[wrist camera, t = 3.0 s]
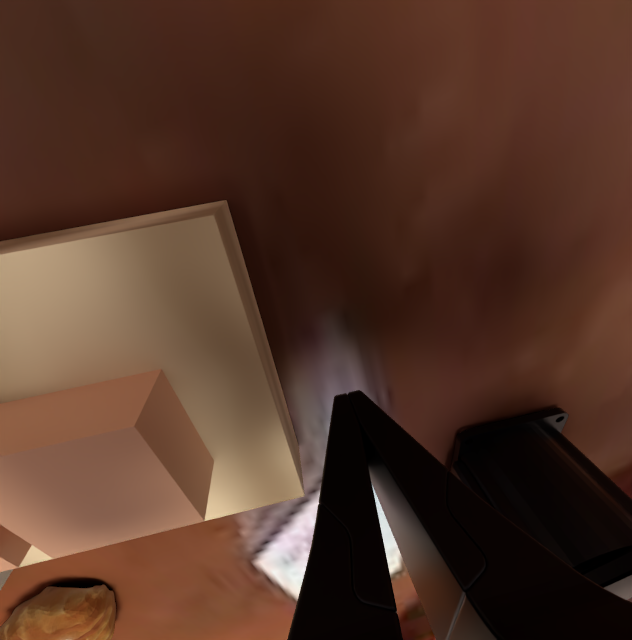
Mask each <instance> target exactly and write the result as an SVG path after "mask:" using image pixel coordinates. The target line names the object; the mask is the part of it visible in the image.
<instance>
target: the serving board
mask: <svg viewBox="0 0 632 640" xmlns="http://www.w3.org/2000/svg"><path fill="white" fill-rule="evenodd" d="M159 369H162V371H163V372H164V374H165V376H166V378H167V379H168V381H169V383H170V385H171V386H172V388H173V390H174V392H175V393H176V395H177V397H178V399H179V400H180V402H181V404H182V406H183V407H184V409H185V411H186V413H187V414H188V416H189V418H190V420H191V421H192V423H193V425H194V427H195V428H196V430H197V432H198V434H199V435H200V437H201V439H202V441H203V442H204V444H205V446H206V448H207V449H208V451H209V453H210V455H211V456H212V458H213V460H214V466H213V472H212V478H211V484H210V490H209V496H208V503H207V509H206V515H205V521H207V520H211V519H215V518H219V517H223V516H227V515H231V514H235V513H239V512H243V511H247V510H251V509H255V508H259V507H263V506H267V505H271V504H275V503H279V502H283V501H287V500H291V499H295V498H299V497H303V496H305V495H304V487H303V478H302V470H301V461H300V453H299V446H298V442H297V439H296V435H295V432H294V429H293V425H292V422H291V418H290V415H289V412H288V408H287V405H286V401H285V398H284V395H283V391H282V388H281V384H280V381H279V377H278V374H277V371H276V367H275V364H274V360H273V357H272V354H271V350H270V347H269V343H268V340H267V337H266V333H265V330H264V326H263V323H262V319H261V316H260V313H259V309H258V306H257V302H256V299H255V296H254V292H253V289H252V285H251V282H250V279H249V275H248V272H247V268H246V265H245V261H244V258H243V255H242V251H241V248H240V244H239V241H238V238H237V234H236V231H235V227H234V224H233V221H232V217H231V214H230V210H229V207H228V203H227V200H223V201H218V202H212V203H207V204H201V205H196V206H191V207H185V208H180V209H174V210H169V211H163V212H158V213H152V214H147V215H141V216H136V217H130V218H125V219H120V220H114V221H109V222H103V223H98V224H92V225H87V226H81V227H76V228H70V229H65V230H59V231H54V232H49V233H43V234H38V235H32V236H27V237H21V238H16V239H10V240H5V241H0V404H1V403H6V402H10V401H15V400H20V399H24V398H29V397H34V396H38V395H43V394H48V393H52V392H57V391H61V390H66V389H71V388H75V387H80V386H85V385H89V384H94V383H99V382H103V381H108V380H112V379H117V378H122V377H126V376H131V375H136V374H140V373H145V372H149V371H154V370H159ZM50 559H53V558H51V557H50V556H48V555H47V554H45V553H44V552H42V551H40V550H39V549H37V548H36V547H34V546H33V545H32V546H31V547H30V549H29V551H28V552H27V554H26V556H25V558H24V559H23V561H22V563H21V564H20V566H19V567H22V566H26V565H30V564H34V563H38V562H42V561H46V560H50Z"/></svg>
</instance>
